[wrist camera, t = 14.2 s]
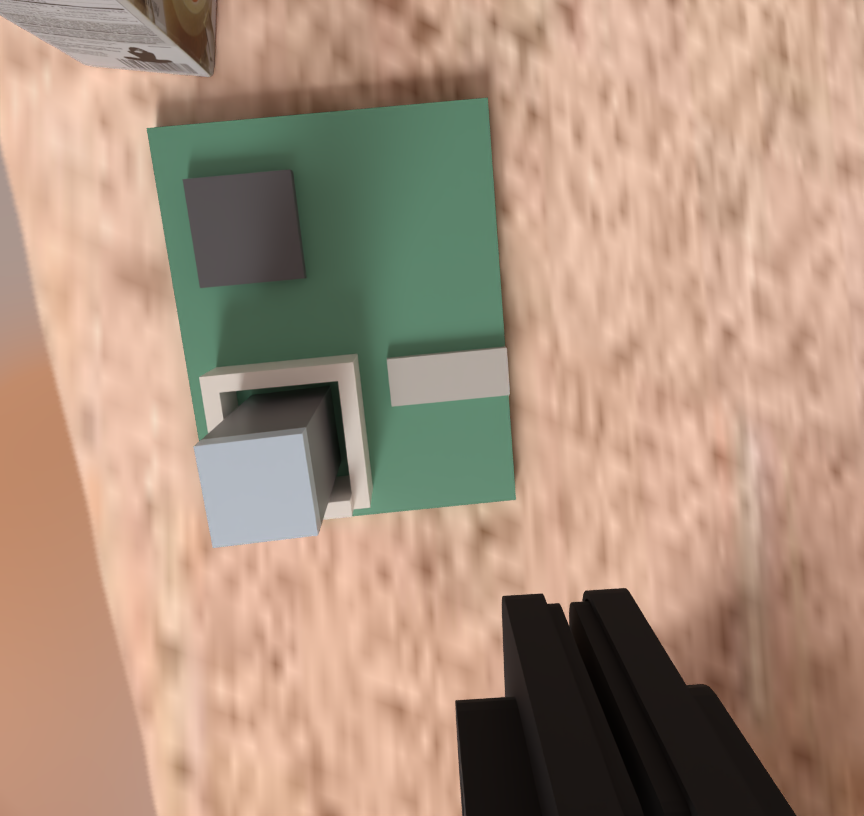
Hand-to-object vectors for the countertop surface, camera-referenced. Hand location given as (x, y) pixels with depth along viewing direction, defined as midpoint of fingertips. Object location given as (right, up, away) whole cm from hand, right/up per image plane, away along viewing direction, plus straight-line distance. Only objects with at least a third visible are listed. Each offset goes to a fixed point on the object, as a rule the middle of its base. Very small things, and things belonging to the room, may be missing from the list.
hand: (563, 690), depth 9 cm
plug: (-9, +3, +26) cm, 28 cm away
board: (-6, +8, +27) cm, 29 cm away
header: (-9, +3, +26) cm, 28 cm away
